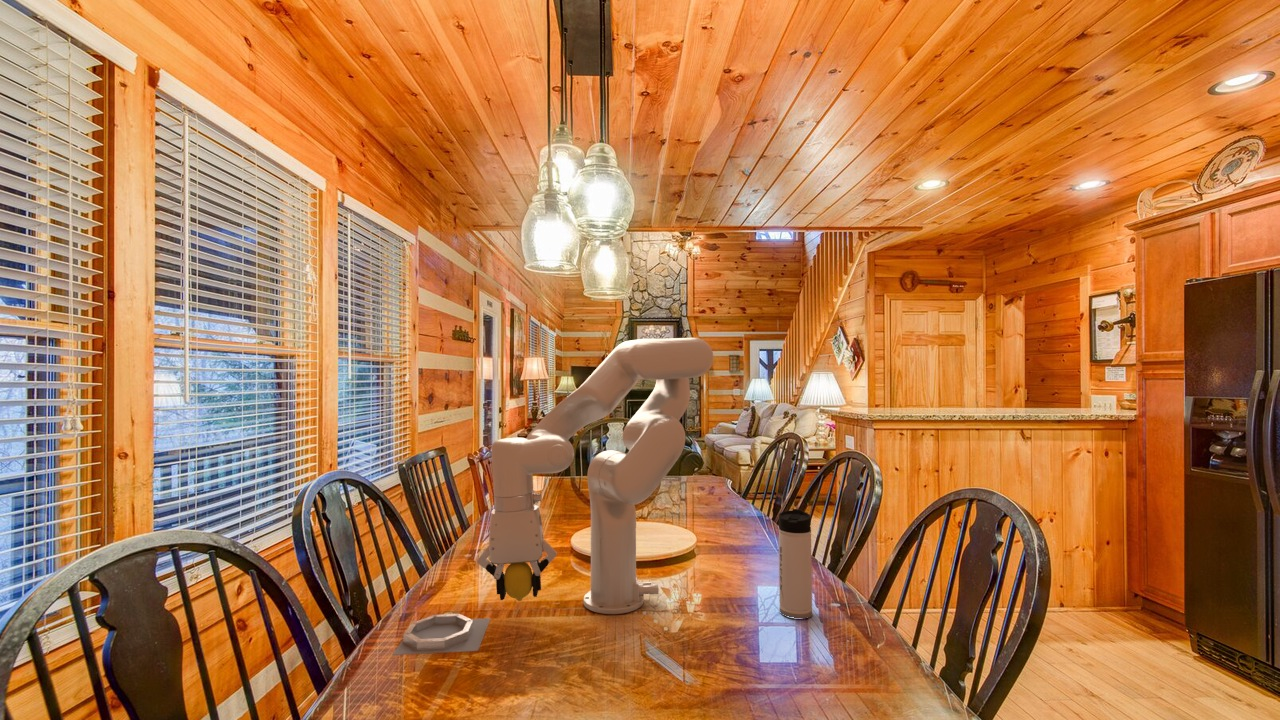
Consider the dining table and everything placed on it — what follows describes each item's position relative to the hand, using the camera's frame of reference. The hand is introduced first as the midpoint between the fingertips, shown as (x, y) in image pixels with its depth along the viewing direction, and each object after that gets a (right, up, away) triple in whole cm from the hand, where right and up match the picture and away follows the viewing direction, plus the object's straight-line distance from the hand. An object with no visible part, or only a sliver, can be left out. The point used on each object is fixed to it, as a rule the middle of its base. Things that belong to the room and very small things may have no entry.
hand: (519, 594), depth 109 cm
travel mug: (+54, -5, +4) cm, 55 cm away
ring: (-13, -4, -8) cm, 15 cm away
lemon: (0, -1, 0) cm, 1 cm away
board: (-12, -5, -8) cm, 15 cm away
